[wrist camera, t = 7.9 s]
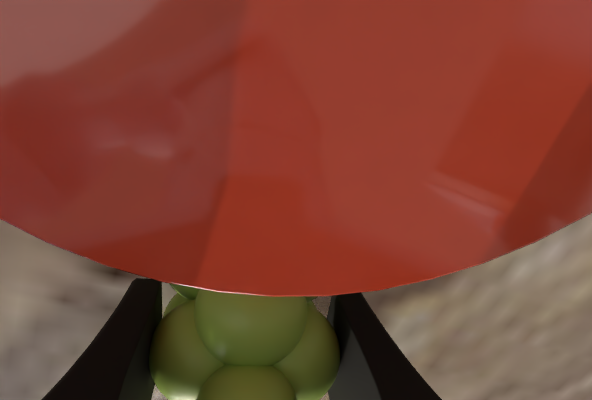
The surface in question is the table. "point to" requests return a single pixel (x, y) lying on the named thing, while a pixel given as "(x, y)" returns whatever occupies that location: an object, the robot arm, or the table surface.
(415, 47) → the pot lid
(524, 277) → the table surface
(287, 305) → the grapes
